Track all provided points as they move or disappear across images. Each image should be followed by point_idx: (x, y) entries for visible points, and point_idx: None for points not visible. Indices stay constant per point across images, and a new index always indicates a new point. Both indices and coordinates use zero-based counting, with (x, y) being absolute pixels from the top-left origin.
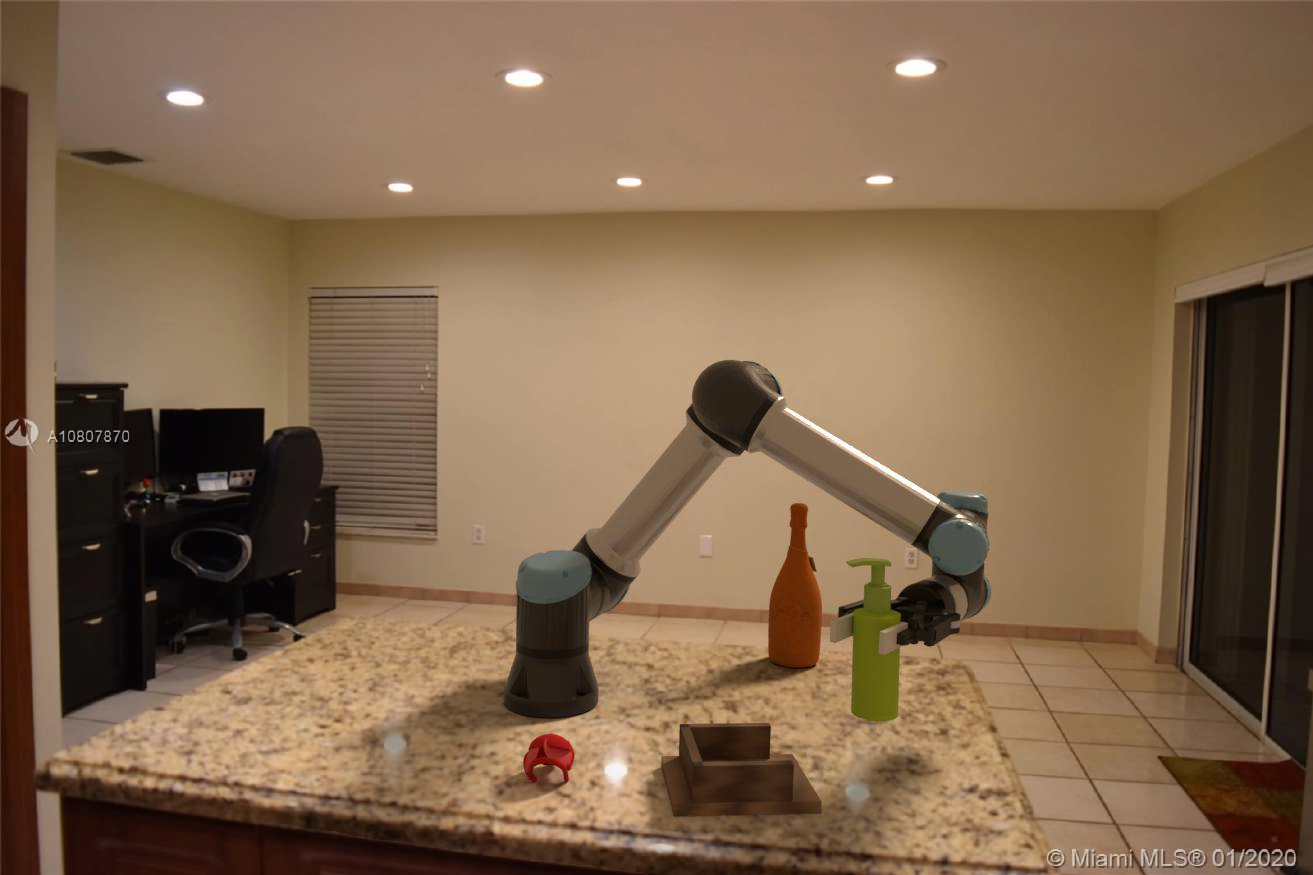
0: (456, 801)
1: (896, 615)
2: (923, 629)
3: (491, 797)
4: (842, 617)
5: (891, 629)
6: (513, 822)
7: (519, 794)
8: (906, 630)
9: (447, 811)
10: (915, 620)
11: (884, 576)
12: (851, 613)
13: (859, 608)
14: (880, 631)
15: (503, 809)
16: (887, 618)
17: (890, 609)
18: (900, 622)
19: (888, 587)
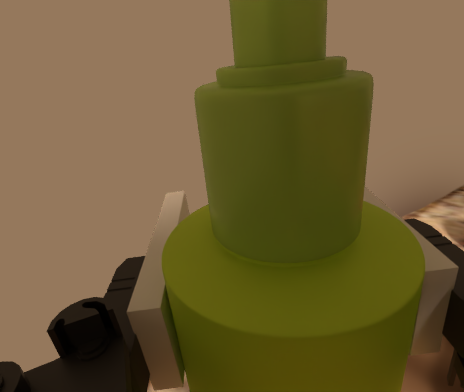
0: (455, 206)
1: (174, 245)
2: (39, 383)
3: (456, 218)
4: (365, 195)
5: (163, 215)
6: (405, 216)
7: (457, 229)
8: (130, 299)
9: (438, 201)
10: (75, 306)
11: (230, 7)
12: (422, 241)
13: (399, 227)
14: (183, 192)
15: (430, 217)
16: (194, 212)
17: (214, 230)
18: (171, 310)
19: (200, 86)
